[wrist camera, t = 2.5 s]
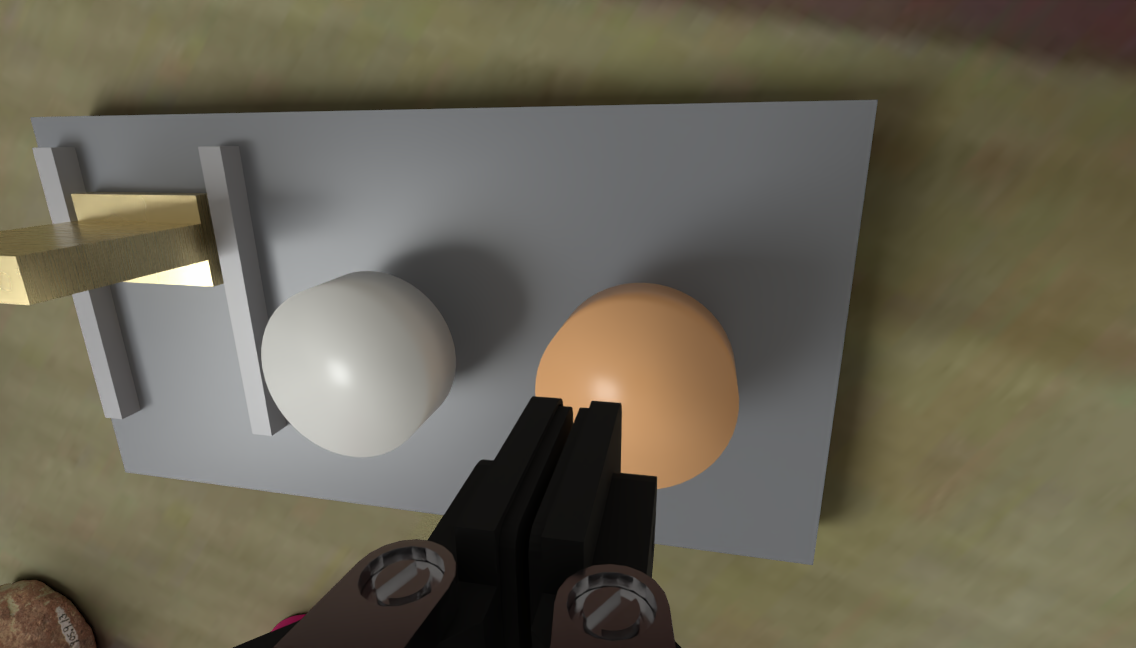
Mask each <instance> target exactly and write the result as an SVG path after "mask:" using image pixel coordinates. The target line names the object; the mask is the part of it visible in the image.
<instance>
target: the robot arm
mask: <svg viewBox="0 0 1136 648" xmlns="http://www.w3.org/2000/svg"><path fill="white" fill-rule="evenodd" d="M621 437H622V405H621V403H616V402H603V401H591V403H590V406H589V408H581V407H580V408H579V411H578V413H577V416H576V418H575V420H574V423H573V408H572V407H568V406H563V400H562V398H550V397H537V396H532V398H531V399H530V401H529V402H528V404H527V406H526V407H525V409H524V411H523V412H522V414H521V416H520V417H519V419H518V421H517V422H516V424H515V426H514V427H513V429H512V431H511V432H510V434H509V436H508V437H507V439H506V441H505V442H504V444H503V446H502V447H501V449H500V451H499V452H498V454H497V456H496V457H495V459H494V460H486V459H483V460H480V461H479V462H478V463H477V464H476V466H475V467H474V469H473V470H472V472H471V474H470V475H469V477H468V478H467V480H466V481H465V483H464V484H463V486H462V488H461V489H460V491H459V492H458V494H457V495H456V497H455V498H454V500H453V502H452V503H451V505H450V506H449V508H448V509H447V511H446V512H445V514H444V516H443V517H442V519H441V520H440V522H439V523H438V525H437V526H436V528H435V530H434V531H433V533H432V534H431V536H430V537H429V539H428V540H427V541H426V540H418V539H415V540H404V541H398V542H395V543H391V544H388V545H385V546H383V547H381V548H379V549H377V550H375V551H373V552H371V553H369V554H368V555H367V556H365V557H364V558H363V559H362V560H360V561H359V562H358V563H357V564H356V565H355V566H354V567H353V568H352V569H351V570H350V571H349V572H348V573H347V574H346V575H345V576H344V577H343V578H342V579H341V580H340V581H339V582H338V583H337V584H336V585H335V586H334V587H333V588H332V589H331V590H330V591H329V592H328V593H327V594H326V595H325V596H324V597H323V598H322V599H321V600H320V601H319V602H318V603H317V604H316V605H315V606H314V607H313V608H312V609H311V610H310V611H309V612H308V613H307V614H306V615H305V616H304V617H303V618H302V619H301V620H298V621H296V622H294V623H291V624H289V625H286V626H284V627H282V628H279V629H277V630H274V631H272V632H270V633H267V634H265V635H262V636H260V637H257V638H255V639H253V640H250V641H248V642H245V643H243V644H241V645H238V646H236V647H233V648H681V647H680V646H679V645H678V644H677V643H676V642H675V640H674V633H673V627H672V620H671V613H670V607H669V603H668V600H667V598H666V595H665V592H664V591H663V590H662V588H661V587H660V586H659V585H658V584H657V582H656V581H655V580H653V579H652V568H653V556H654V542H655V524H656V502H657V476H649V475H639V474H628V473H621Z"/></svg>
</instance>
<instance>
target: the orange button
mask: <svg viewBox="0 0 1136 648" xmlns="http://www.w3.org/2000/svg"><path fill="white" fill-rule="evenodd" d="M535 396H537V397H550V398H562V400H563V406H568V407H572V408H573V423H574V420H575V418H576V416H577V413H578V411H579V408H580V407H581V408H589V406H590V403H591V401H603V402H616V403H621V405H622V437H621V473H628V474H639V475H649V476H657V489H661V488H667V487H671V486H674V485H678V484H681V483H683V482H685V481H688V480H690V479H692V478H694V477H695V476H697V475H699V474H700V473H702V472H703V471H705V470H706V469H707V468H708V467H709V466H711V465H712V464H713V463H714V462H715V461H716V460H717V459H718V457H719V456H720V455H721V454H722V452H723V451H724V450H725V448H726V447H727V445H728V443H729V441H730V439H731V437H732V435H733V433H734V430H735V426H736V423H737V418H738V412H739V393H738V385H737V376H736V368H735V360H734V354H733V350H732V347H731V344H730V341H729V339H728V337H727V335H726V332H725V331H724V329H723V328H722V326H721V324H720V323H719V321H718V320H717V319H716V318H715V317H714V315H713V314H712V313H711V312H710V311H709V310H708V309H707V308H706V307H704V306H703V305H702V304H701V303H699V302H698V301H697V300H695V299H694V298H692V297H691V296H689V295H687V294H685V293H683V292H681V291H679V290H676V289H673V288H671V287H667V286H663V285H659V284H652V283H628V284H622V285H617V286H614V287H610V288H607V289H605V290H603V291H600V292H598V293H596V294H595V295H593V296H591V297H590V298H588V299H587V300H586V301H584V302H583V303H582V304H581V305H579V306H578V307H577V308H576V310H575V311H574V312H573V313H572V314H571V315H570V316H569V318H568V319H567V320H566V322H565V323H564V324H563V326H562V327H561V328H560V330H559V331H558V332H557V334H556V335H555V336H554V338H553V339H552V340H551V342H550V343H549V345H548V346H547V348H546V350H545V352H544V354H543V356H542V358H541V361H540V364H539V367H538V370H537V376H536V383H535Z"/></svg>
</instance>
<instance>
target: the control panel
mask: <svg viewBox="0 0 1136 648" xmlns="http://www.w3.org/2000/svg"><path fill="white" fill-rule="evenodd" d="M877 102H878V100H842V101H794V102H745V103H697V104H649V105H600V106H552V107H504V108H456V109H407V110H359V111H311V112H263V113H214V114H166V115H118V116H69V117H30V118H31V122H32V125H33V129H34V133H35V137H36V140H37V144H38V148H32V149H33V153H34V157H35V160H36V164H37V168H38V171H39V175H40V179H41V182H42V186H43V190H44V193H45V197H46V201H47V204H48V208H49V212H50V215H51V219H52V223H53V224H57V223H64V222H72V221H78V219H77V215H76V212H75V208H74V204H73V200H72V196H71V194H75V193H86V192H151V193H207V197H208V202H209V208H210V213H211V218H212V223H213V229H214V234H215V239H216V244H217V250H218V255H219V260H220V265H221V271H222V276H223V281H224V283H223V284H220V285H217V286H214V287H211V286H192V285H173V284H154V283H134V282H119V283H116V284H112V285H108V286H104V287H100V288H96V289H92V290H88V291H84V292H80V293H76V294H72V296H73V300H74V304H75V307H76V311H77V315H78V318H79V322H80V326H81V330H82V333H83V337H84V341H85V344H86V348H87V352H88V355H89V359H90V363H91V366H92V370H93V374H94V377H95V381H96V385H97V388H98V392H99V396H100V399H101V403H102V407H103V410H104V414H105V417H106V418H111V420H112V423H113V427H114V431H115V434H116V438H117V442H118V446H119V449H120V453H121V457H122V460H123V464H124V468H125V472H128V473H136V474H143V475H150V476H158V477H165V478H173V479H180V480H187V481H195V482H202V483H210V484H217V485H224V486H232V487H239V488H247V489H254V490H261V491H269V492H276V493H284V494H291V495H298V496H306V497H313V498H321V499H328V500H335V501H343V502H350V503H358V504H365V505H372V506H380V507H387V508H395V509H402V510H409V511H417V512H424V513H432V514H439V515H444V514H445V512H446V511H447V509H448V508H449V506H450V505H451V503H452V502H453V500H454V498H455V497H456V495H457V494H458V492H459V491H460V489H461V488H462V486H463V484H464V483H465V481H466V480H467V478H468V477H469V475H470V474H471V472H472V470H473V469H474V467H475V466H476V464H477V463H478V462H479V461H480V460H483V459H486V460H494V459H495V457H496V456H497V454H498V452H499V451H500V449H501V447H502V446H503V444H504V442H505V441H506V439H507V437H508V436H509V434H510V432H511V431H512V429H513V427H514V426H515V424H516V422H517V421H518V419H519V417H520V416H521V414H522V412H523V411H524V409H525V407H526V406H527V404H528V402H529V401H530V399H531V398H532V396H535V383H536V376H537V370H538V367H539V364H540V361H541V358H542V356H543V354H544V352H545V350H546V348H547V346H548V345H549V343H550V342H551V340H552V339H553V338H554V336H555V335H556V334H557V332H558V331H559V330H560V328H561V327H562V326H563V324H564V323H565V322H566V320H567V319H568V318H569V316H570V315H571V314H572V313H573V312H574V311H575V310H576V308H577V307H578V306H579V305H581V304H582V303H583V302H584V301H586V300H587V299H588V298H590V297H591V296H593V295H595V294H596V293H598V292H600V291H603V290H605V289H607V288H610V287H614V286H617V285H622V284H628V283H652V284H659V285H663V286H667V287H671V288H673V289H676V290H679V291H681V292H683V293H685V294H687V295H689V296H691V297H692V298H694V299H695V300H697V301H698V302H699V303H701V304H702V305H703V306H704V307H706V308H707V309H708V310H709V311H710V312H711V313H712V314H713V315H714V317H715V318H716V319H717V320H718V321H719V323H720V324H721V326H722V328H723V329H724V331H725V332H726V335H727V337H728V339H729V341H730V344H731V347H732V350H733V354H734V360H735V368H736V376H737V385H738V393H739V412H738V418H737V423H736V426H735V430H734V433H733V435H732V437H731V439H730V441H729V443H728V445H727V447H726V448H725V450H724V451H723V452H722V454H721V455H720V456H719V457H718V459H717V460H716V461H715V462H714V463H713V464H712V465H711V466H709V467H708V468H707V469H706V470H705V471H703V472H702V473H700V474H699V475H697V476H695V477H694V478H692V479H690V480H688V481H685V482H683V483H681V484H678V485H674V486H671V487H667V488H661V489H657V502H656V524H655V542H654V544H661V545H668V546H676V547H683V548H691V549H698V550H705V551H713V552H720V553H728V554H735V555H742V556H750V557H757V558H765V559H772V560H779V561H787V562H794V563H802V564H809V565H813V560H814V553H815V546H816V539H817V532H818V524H819V517H820V510H821V503H822V496H823V489H824V481H825V474H826V467H827V460H828V453H829V446H830V438H831V431H832V424H833V417H834V410H835V403H836V395H837V388H838V381H839V374H840V367H841V360H842V353H843V345H844V338H845V331H846V324H847V317H848V310H849V302H850V295H851V288H852V281H853V274H854V267H855V259H856V252H857V245H858V238H859V231H860V224H861V217H862V209H863V202H864V195H865V188H866V181H867V174H868V166H869V159H870V152H871V145H872V138H873V131H874V123H875V116H876V109H877ZM359 271H375V272H382V273H386V274H390V275H393V276H395V277H398V278H400V279H402V280H404V281H406V282H408V283H410V284H411V285H413V286H414V287H416V288H417V289H418V290H420V291H421V292H422V293H423V294H424V295H425V296H426V297H428V298H429V300H430V301H431V302H432V303H433V304H434V305H435V306H436V308H437V309H438V311H439V312H440V313H441V315H442V316H443V318H444V320H445V322H446V324H447V326H448V328H449V331H450V333H451V336H452V339H453V343H454V347H455V355H456V370H455V377H454V381H453V384H452V387H451V390H450V392H449V394H448V396H447V397H446V399H445V400H444V402H443V403H442V404H441V405H440V407H439V408H438V409H437V410H436V411H435V412H434V413H433V414H432V415H431V416H430V417H429V418H428V419H427V420H426V421H425V422H424V423H423V424H422V425H421V426H420V427H419V428H418V429H417V430H416V431H415V432H414V433H413V434H412V435H411V436H410V437H409V438H408V439H407V440H406V441H405V442H404V443H403V444H401V445H400V446H399V447H397V448H395V449H394V450H392V451H390V452H387V453H384V454H382V455H377V456H373V457H351V456H346V455H341V454H338V453H334V452H331V451H329V450H327V449H324V448H322V447H320V446H319V445H317V444H315V443H313V442H312V441H310V440H309V439H307V438H306V437H305V436H303V435H302V434H301V433H300V432H299V431H298V430H296V429H295V428H294V427H293V426H292V425H291V424H290V422H289V421H288V420H287V419H286V418H285V417H284V415H283V414H282V413H281V411H280V410H279V408H278V407H277V405H276V403H275V402H274V400H273V398H272V396H271V394H270V392H269V389H268V387H267V384H266V381H265V377H264V373H263V369H262V360H261V347H262V340H263V335H264V332H265V328H266V326H267V324H268V322H269V319H270V318H271V316H272V315H273V313H274V312H275V310H276V309H277V308H278V307H279V306H280V305H281V304H282V303H283V302H284V301H286V300H287V299H288V298H290V297H291V296H293V295H295V294H297V293H299V292H302V291H304V290H307V289H309V288H312V287H315V286H317V285H320V284H322V283H325V282H328V281H330V280H333V279H335V278H338V277H340V276H343V275H346V274H349V273H353V272H359Z"/></svg>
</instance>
